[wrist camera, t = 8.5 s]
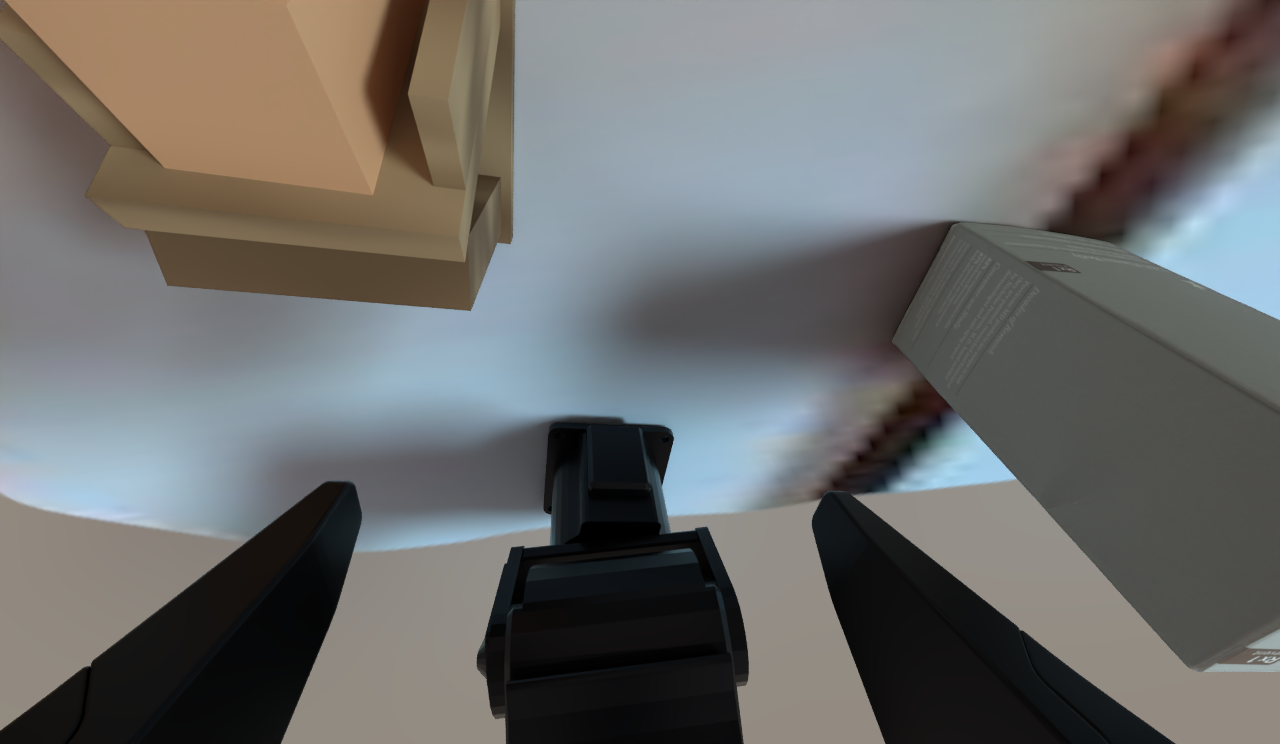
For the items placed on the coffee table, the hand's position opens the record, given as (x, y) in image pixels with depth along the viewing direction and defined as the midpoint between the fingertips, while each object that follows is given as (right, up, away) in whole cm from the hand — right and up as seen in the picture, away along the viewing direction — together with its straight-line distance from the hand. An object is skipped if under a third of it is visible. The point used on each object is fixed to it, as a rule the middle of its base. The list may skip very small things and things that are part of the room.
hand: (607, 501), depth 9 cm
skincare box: (+17, +6, +14) cm, 23 cm away
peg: (-7, +10, +3) cm, 13 cm away
